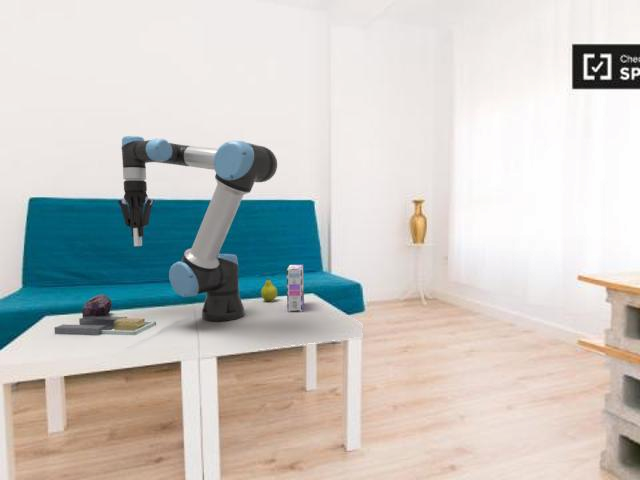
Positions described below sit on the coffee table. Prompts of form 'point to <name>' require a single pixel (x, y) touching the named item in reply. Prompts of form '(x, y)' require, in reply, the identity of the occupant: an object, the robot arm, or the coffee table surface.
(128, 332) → the tray
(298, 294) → the candy box
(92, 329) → the rail
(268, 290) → the fruit
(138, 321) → the brass block
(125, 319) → the brass block
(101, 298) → the rock
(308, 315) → the coffee table surface
